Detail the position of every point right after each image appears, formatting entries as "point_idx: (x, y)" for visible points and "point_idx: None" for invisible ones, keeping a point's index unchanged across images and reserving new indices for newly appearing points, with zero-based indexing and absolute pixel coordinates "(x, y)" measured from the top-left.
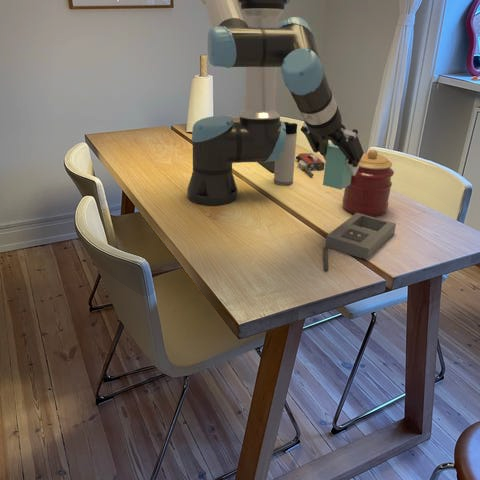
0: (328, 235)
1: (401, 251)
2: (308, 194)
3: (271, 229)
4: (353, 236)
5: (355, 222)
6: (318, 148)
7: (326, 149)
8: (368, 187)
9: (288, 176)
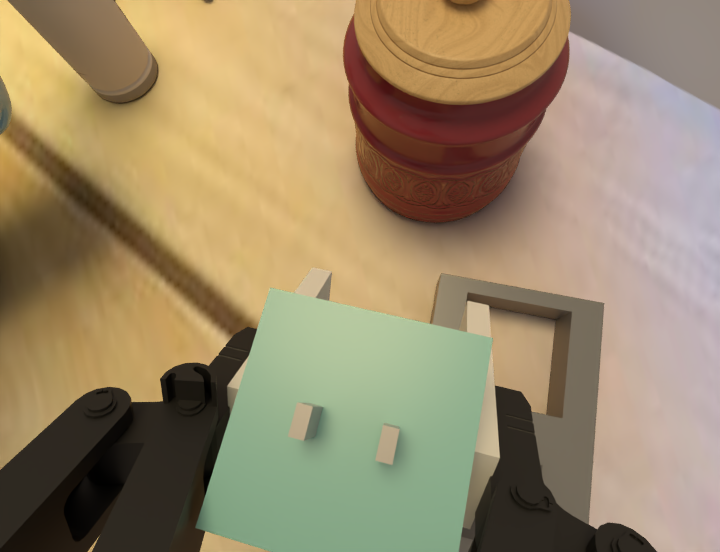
0: None
1: (650, 446)
2: (230, 133)
3: None
4: None
5: None
6: (126, 475)
7: (209, 448)
8: (470, 165)
9: (128, 70)
